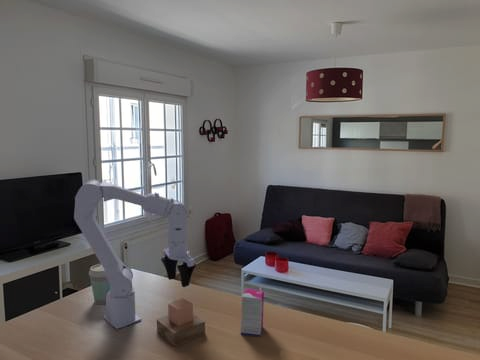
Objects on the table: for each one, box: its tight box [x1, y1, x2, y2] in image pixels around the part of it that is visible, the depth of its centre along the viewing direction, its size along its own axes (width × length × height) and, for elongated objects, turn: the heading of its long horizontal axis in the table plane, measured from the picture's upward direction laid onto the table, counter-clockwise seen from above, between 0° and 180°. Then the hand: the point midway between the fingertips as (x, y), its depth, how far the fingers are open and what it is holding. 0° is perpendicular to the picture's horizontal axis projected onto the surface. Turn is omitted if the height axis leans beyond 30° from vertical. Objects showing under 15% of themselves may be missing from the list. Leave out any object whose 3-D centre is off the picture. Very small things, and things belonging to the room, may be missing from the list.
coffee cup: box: [88, 263, 110, 306], centre depth 129 cm, size 8×9×12 cm
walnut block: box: [156, 313, 206, 347], centre depth 110 cm, size 10×10×4 cm
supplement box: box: [240, 288, 265, 337], centre depth 110 cm, size 6×6×12 cm
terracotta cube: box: [167, 297, 194, 326], centre depth 110 cm, size 5×5×5 cm
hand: (178, 282), depth 120 cm, fingers open, 7 cm apart
